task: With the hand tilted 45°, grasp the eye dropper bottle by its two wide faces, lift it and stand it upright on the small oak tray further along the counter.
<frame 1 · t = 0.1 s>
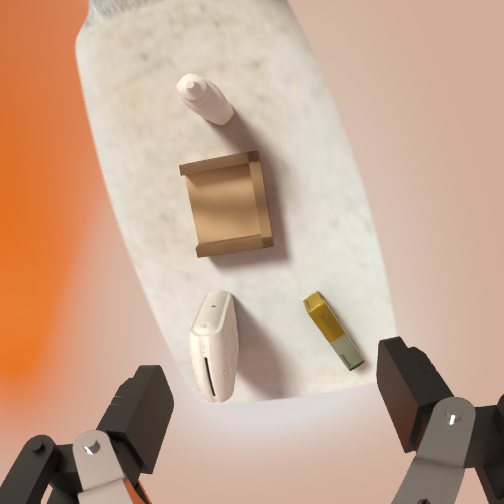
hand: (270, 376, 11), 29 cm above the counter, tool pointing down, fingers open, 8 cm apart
oak tray: (229, 202, 38), on the counter
eye dropper bottle: (212, 106, 35), on the counter
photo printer: (222, 321, 43), on the counter
medication box: (332, 324, 43), on the counter
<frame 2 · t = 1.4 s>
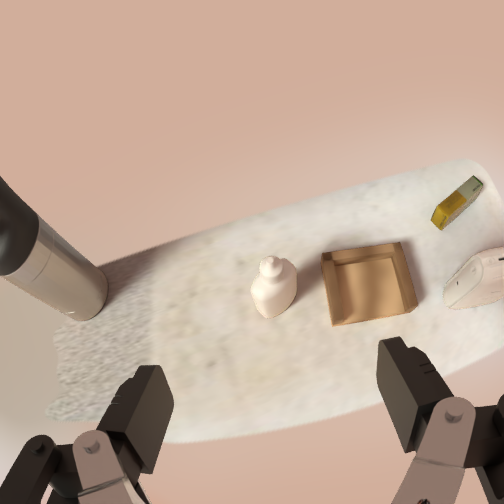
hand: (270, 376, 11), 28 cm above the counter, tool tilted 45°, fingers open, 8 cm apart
oak tray: (366, 287, 40), on the counter
eye dropper bottle: (277, 301, 41), on the counter
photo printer: (469, 295, 37), on the counter
medication box: (453, 209, 44), on the counter
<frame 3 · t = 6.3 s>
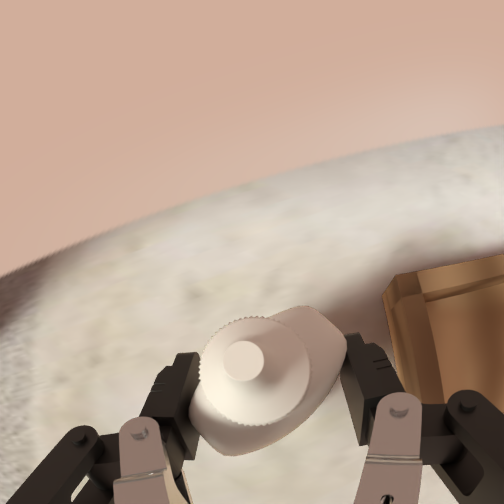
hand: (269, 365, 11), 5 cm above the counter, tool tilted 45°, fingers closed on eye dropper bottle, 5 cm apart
oak tray: (475, 348, 15), on the counter
eye dropper bottle: (279, 392, 16), on the counter, touching gripper
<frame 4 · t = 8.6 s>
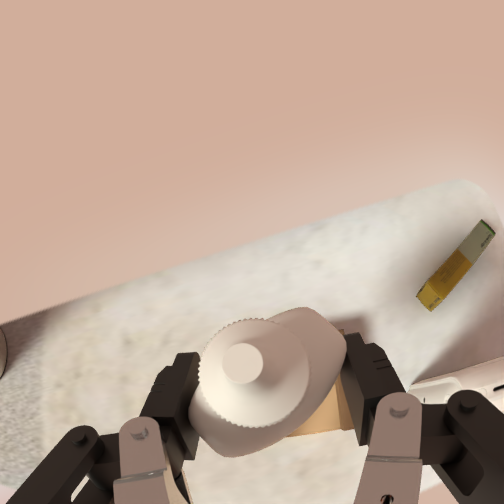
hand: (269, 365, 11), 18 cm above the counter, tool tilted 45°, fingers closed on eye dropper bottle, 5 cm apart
oak tray: (288, 390, 27), on the counter
eye dropper bottle: (279, 392, 16), point 13 cm above the counter, touching gripper
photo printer: (446, 394, 25), on the counter
medication box: (451, 271, 31), on the counter
when the fingers open (7 cm above the counter, at t = 11.2 s): eye dropper bottle stays where it is, resting on oak tray.
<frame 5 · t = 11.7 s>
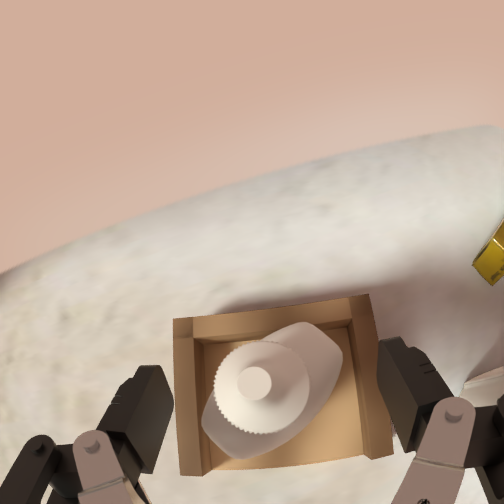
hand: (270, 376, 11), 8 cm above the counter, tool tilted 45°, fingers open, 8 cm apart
oak tray: (281, 393, 17), on the counter
eye dropper bottle: (281, 396, 17), point 1 cm above the counter, touching oak tray
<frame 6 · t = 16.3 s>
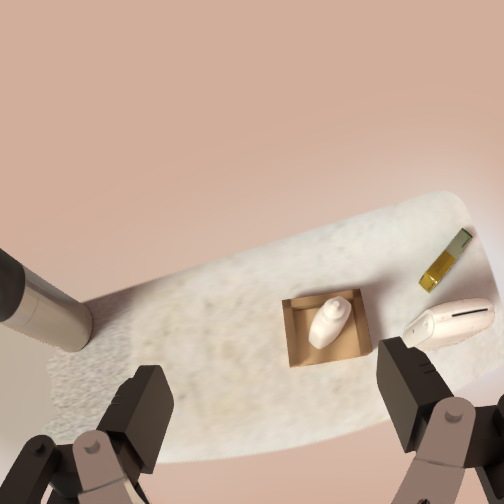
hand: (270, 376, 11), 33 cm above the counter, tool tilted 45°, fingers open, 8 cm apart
oak tray: (325, 331, 43), on the counter
eye dropper bottle: (326, 331, 42), point 1 cm above the counter, touching oak tray
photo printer: (431, 337, 40), on the counter
medication box: (442, 265, 45), on the counter
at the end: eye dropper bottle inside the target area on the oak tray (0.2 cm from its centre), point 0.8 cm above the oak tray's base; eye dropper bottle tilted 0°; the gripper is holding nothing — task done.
